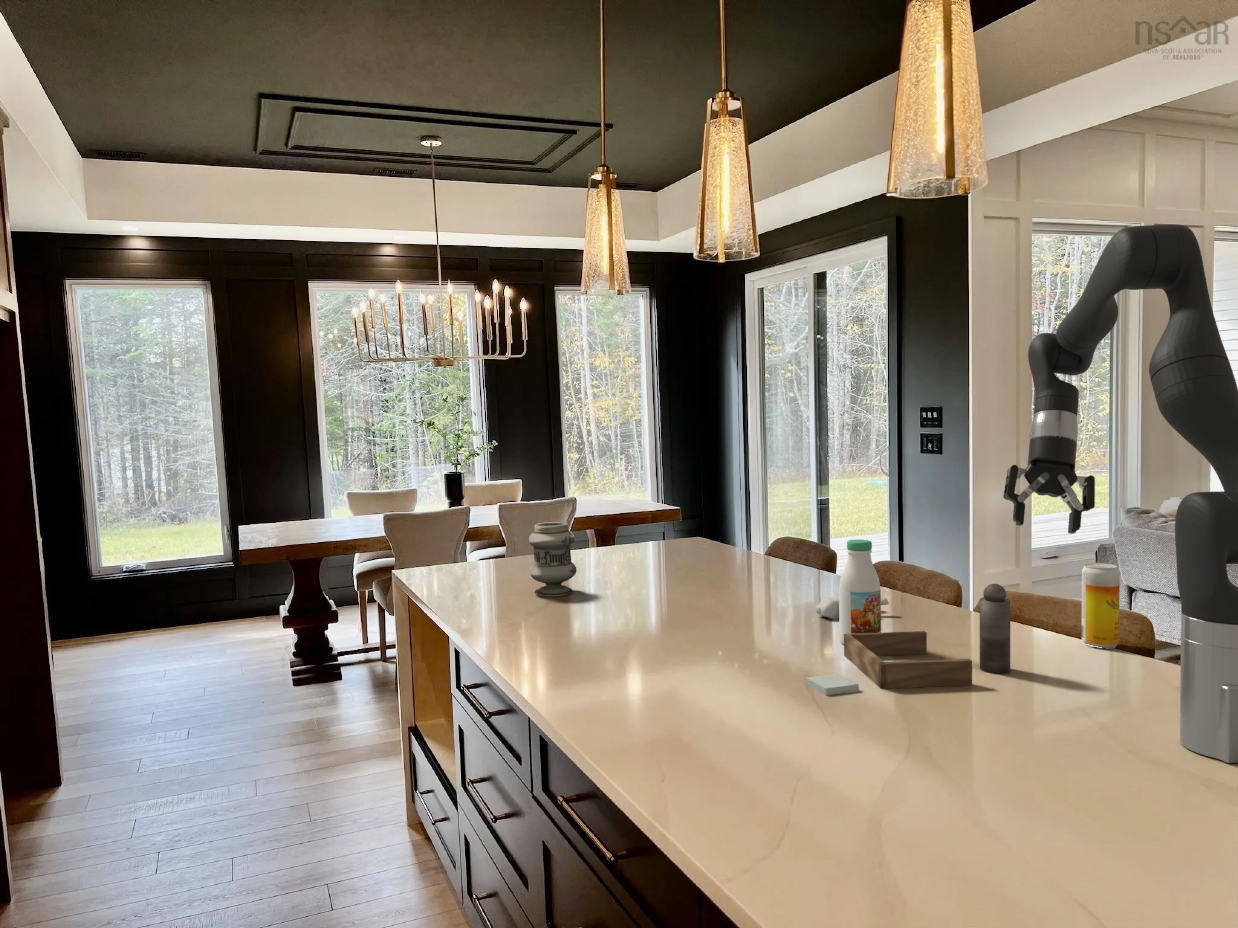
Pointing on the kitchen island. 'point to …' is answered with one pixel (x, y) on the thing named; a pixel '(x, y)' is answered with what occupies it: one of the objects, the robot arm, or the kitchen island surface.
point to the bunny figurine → (835, 607)
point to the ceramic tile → (832, 684)
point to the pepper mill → (995, 630)
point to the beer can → (1100, 605)
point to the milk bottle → (859, 592)
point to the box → (903, 673)
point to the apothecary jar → (552, 558)
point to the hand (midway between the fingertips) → (1045, 528)
